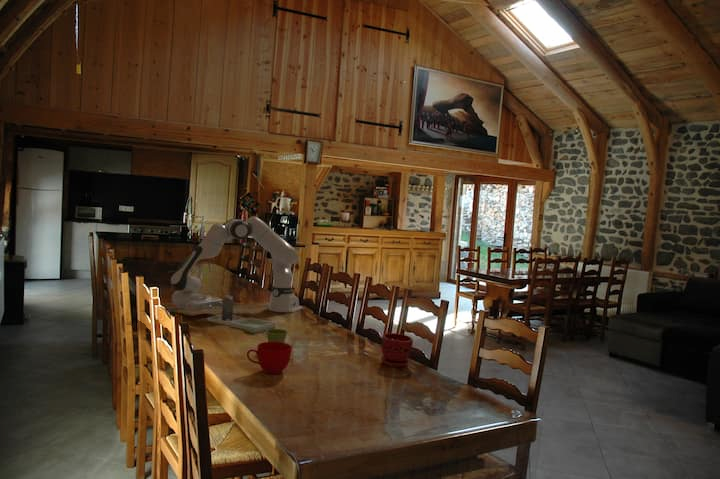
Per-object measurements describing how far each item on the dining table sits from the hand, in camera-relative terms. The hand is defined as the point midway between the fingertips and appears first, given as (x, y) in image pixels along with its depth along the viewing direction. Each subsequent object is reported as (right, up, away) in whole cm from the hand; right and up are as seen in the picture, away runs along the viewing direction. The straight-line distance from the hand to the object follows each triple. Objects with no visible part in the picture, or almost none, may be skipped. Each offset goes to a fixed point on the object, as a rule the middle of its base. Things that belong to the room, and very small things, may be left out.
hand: (216, 306), depth 286 cm
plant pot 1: (+39, -14, -48) cm, 63 cm away
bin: (+21, -10, -11) cm, 26 cm away
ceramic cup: (+40, -16, -77) cm, 89 cm away
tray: (+6, -8, -3) cm, 11 cm away
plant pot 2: (+91, -18, -54) cm, 107 cm away
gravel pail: (+6, -7, -3) cm, 10 cm away
